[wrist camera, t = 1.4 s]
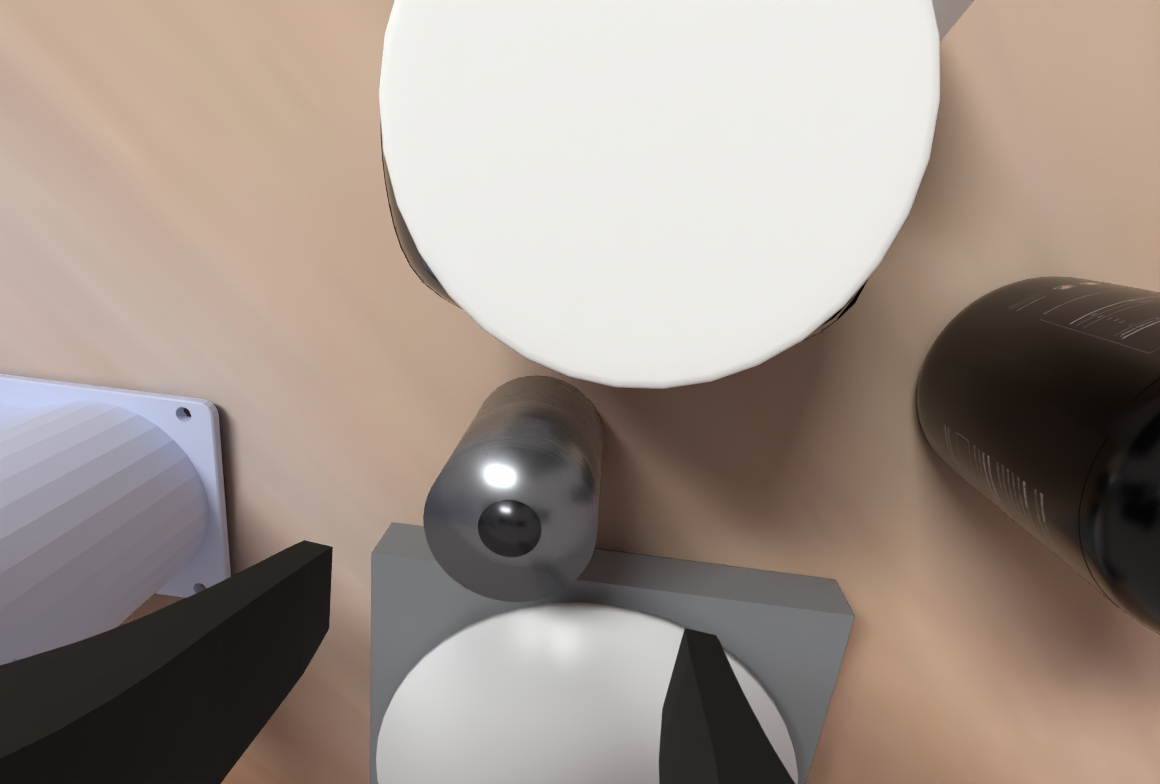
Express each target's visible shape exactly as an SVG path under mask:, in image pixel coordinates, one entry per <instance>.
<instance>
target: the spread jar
mask: <svg viewBox="0 0 1160 784" xmlns="http://www.w3.org/2000/svg"><path fill="white" fill-rule="evenodd" d="M973 1H974V0H395V2H394V5H393V9H392V12H391V15H390V19H389V22H388V26H387V29H386V33H385V39H384V49H383V59H382V68H381V78H380V88H379V102H380V115H381V146H382V161H383V169H384V178H385V185H386V191H387V197H388V202H389V207H390V212H391V216H392V221H393V225H394V229H395V232H396V235H397V238H398V241H399V244H400V247H401V249H402V251H403V253H404V255H405V257H406V259H407V261H408V263H409V265H410V267H411V268H412V269H413V270H414V272H415V273H416V274H417V276H418V277H419V278H420V280H421V281H422V282H423V283H424V284H425V285H426V286H428V287H429V288H430V289H431V290H433V291H434V292H435V293H436V294H438V295H439V296H440V297H442V298H443V299H445V300H447V301H449V302H451V303H452V304H454V305H456V306H458V307H459V308H461V309H463V310H464V311H465V312H466V313H467V314H468V315H469V316H470V317H471V318H472V319H473V320H474V321H475V322H476V323H477V324H478V325H479V326H480V327H481V328H482V329H483V330H484V331H486V332H487V333H489V334H490V335H492V336H493V337H495V338H496V339H498V340H499V341H501V342H502V343H504V344H505V345H507V346H508V347H509V348H511V349H512V350H514V351H515V352H517V353H518V354H520V355H521V356H523V357H524V358H526V359H529V360H531V361H533V362H536V363H538V364H540V365H543V366H545V367H547V368H550V369H552V370H554V371H556V372H559V373H561V374H563V375H566V376H568V377H572V378H576V379H581V380H585V381H590V382H594V383H598V384H603V385H607V386H612V387H621V388H652V389H666V388H673V387H679V386H686V385H692V384H699V383H705V382H712V381H715V380H718V379H720V378H723V377H726V376H729V375H732V374H735V373H738V372H740V371H743V370H746V369H749V368H752V367H755V366H758V365H760V364H762V363H763V362H765V361H767V360H769V359H770V358H772V357H774V356H776V355H778V354H779V353H781V352H783V351H785V350H786V349H788V348H790V347H792V346H794V345H795V344H797V343H799V342H801V341H803V340H805V339H807V338H809V337H812V336H814V335H816V334H818V333H821V332H823V331H824V330H825V329H826V328H827V327H829V326H830V325H831V324H833V323H834V322H835V321H837V320H838V319H839V318H840V317H841V316H842V315H843V314H844V313H845V312H846V311H847V310H848V309H849V308H850V307H852V306H853V305H854V304H855V302H856V300H857V298H858V297H859V295H860V293H861V291H862V289H863V288H864V286H865V284H866V282H867V280H868V278H869V277H870V275H871V274H872V273H873V272H874V271H875V269H876V268H877V267H878V266H879V265H880V264H881V262H882V260H883V258H884V257H885V255H886V253H887V252H888V250H889V248H890V246H891V245H892V243H893V241H894V240H895V238H896V236H897V234H898V233H899V231H900V229H901V228H902V226H903V224H904V222H905V221H906V219H907V217H908V216H909V214H910V211H911V208H912V206H913V203H914V200H915V197H916V195H917V192H918V189H919V187H920V184H921V181H922V179H923V176H924V173H925V170H926V168H927V165H928V162H929V160H930V155H931V149H932V144H933V138H934V132H935V126H936V121H937V115H938V109H939V103H940V41H941V40H942V38H943V37H944V36H945V35H946V34H947V32H948V31H949V30H950V29H951V28H952V26H953V25H954V24H955V23H956V22H957V20H958V19H959V18H960V17H961V16H962V14H963V13H964V12H965V11H966V9H967V8H968V7H969V6H970V5H971V3H972V2H973Z"/></svg>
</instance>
